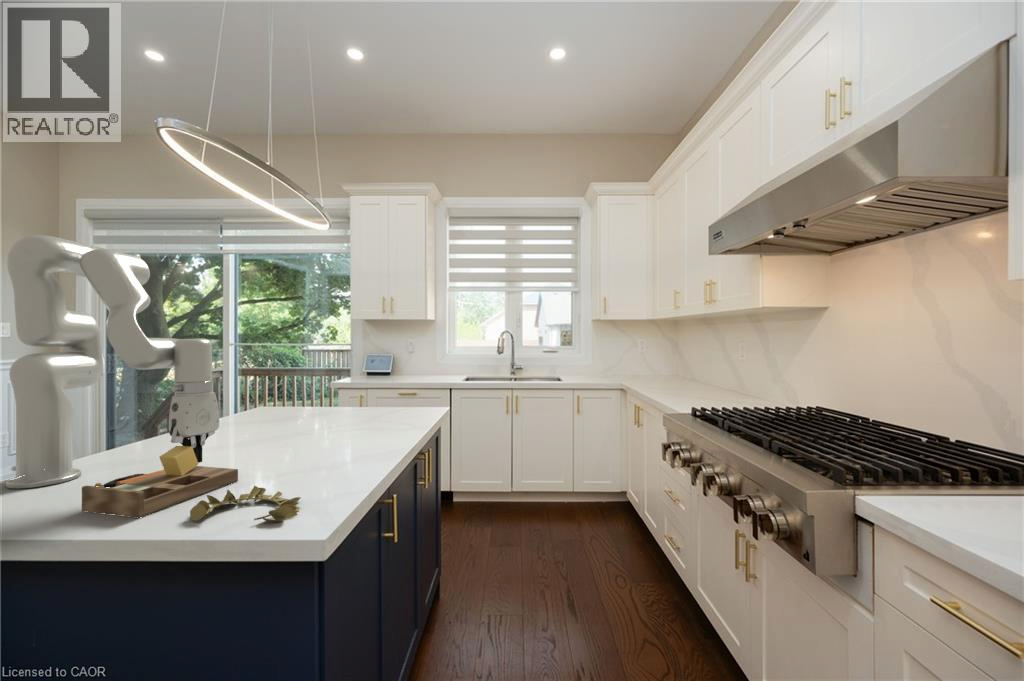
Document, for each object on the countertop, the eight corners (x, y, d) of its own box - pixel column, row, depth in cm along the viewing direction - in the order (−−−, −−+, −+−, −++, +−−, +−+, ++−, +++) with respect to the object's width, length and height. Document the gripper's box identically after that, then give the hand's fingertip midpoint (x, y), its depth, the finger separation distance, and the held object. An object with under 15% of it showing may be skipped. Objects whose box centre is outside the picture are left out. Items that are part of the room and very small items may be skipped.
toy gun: (163, 464, 117) (189, 465, 114) (164, 472, 117) (189, 473, 114) (93, 481, 103) (120, 483, 99) (93, 490, 102) (120, 493, 99)
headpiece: (285, 534, 81) (323, 506, 96) (287, 512, 81) (324, 488, 96) (175, 523, 82) (230, 497, 97) (178, 501, 82) (232, 479, 97)
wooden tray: (81, 511, 87) (81, 486, 87) (188, 477, 110) (188, 457, 110) (139, 518, 84) (139, 492, 84) (237, 481, 106) (238, 461, 106)
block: (166, 474, 102) (159, 456, 100) (183, 463, 106) (176, 445, 104) (182, 475, 101) (175, 457, 99) (198, 464, 105) (192, 446, 103)
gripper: (176, 392, 99) (177, 472, 99) (232, 385, 113) (232, 455, 113) (150, 391, 100) (150, 470, 100) (208, 385, 115) (208, 454, 115)
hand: (194, 462), depth 107 cm, fingers closed
